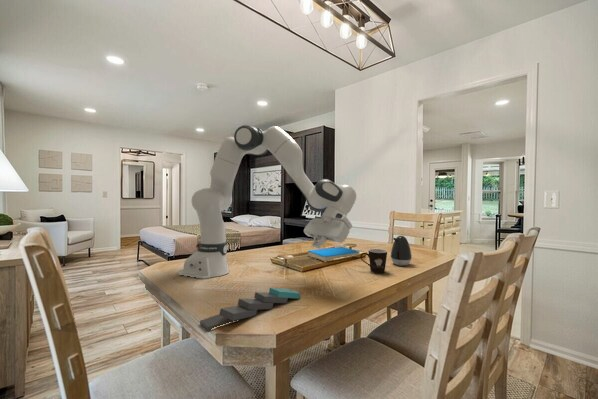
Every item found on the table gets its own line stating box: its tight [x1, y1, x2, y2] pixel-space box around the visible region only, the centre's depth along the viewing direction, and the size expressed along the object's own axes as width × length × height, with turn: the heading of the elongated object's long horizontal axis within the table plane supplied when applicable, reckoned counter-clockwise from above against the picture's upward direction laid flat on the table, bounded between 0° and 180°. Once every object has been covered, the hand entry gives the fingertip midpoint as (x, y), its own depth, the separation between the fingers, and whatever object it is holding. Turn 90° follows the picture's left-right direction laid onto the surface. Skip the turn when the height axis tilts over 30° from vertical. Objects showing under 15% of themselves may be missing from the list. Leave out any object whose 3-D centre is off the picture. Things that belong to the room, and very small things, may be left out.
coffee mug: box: [359, 248, 388, 275], centre depth 130 cm, size 12×9×10 cm
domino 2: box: [218, 305, 258, 321], centre depth 79 cm, size 2×5×10 cm
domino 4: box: [253, 291, 289, 304], centre depth 90 cm, size 2×5×10 cm
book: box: [307, 246, 360, 260], centre depth 159 cm, size 17×4×25 cm
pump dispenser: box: [390, 235, 413, 267], centre depth 142 cm, size 10×10×15 cm
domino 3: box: [237, 298, 274, 311], centre depth 85 cm, size 2×5×10 cm
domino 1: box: [199, 314, 241, 332], centre depth 78 cm, size 2×5×10 cm
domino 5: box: [268, 287, 301, 299], centre depth 94 cm, size 2×5×10 cm
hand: (315, 246), depth 105 cm, fingers closed
